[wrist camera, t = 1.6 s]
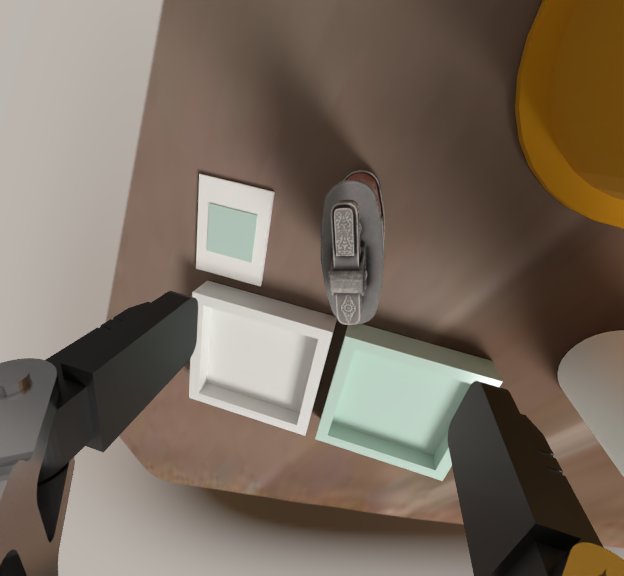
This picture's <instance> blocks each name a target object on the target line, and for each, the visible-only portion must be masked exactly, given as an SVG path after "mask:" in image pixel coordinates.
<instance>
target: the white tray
mask: <svg viewBox="0 0 624 576" xmlns="http://www.w3.org/2000/svg"><path fill="white" fill-rule="evenodd" d="M192 297H194V298H196V299H197V301H198V323H197V342H196V347H195V350H194V352H193V354H192V356H191V358H190V386H189V398H192V399H195V400H198V401H201V402H204V403H207V404H210V405H213V406H216V407H219V408H222V409H225V410H228V411H231V412H234V413H237V414H240V415H243V416H247V417H250V418H253V419H256V420H259V421H262V422H265V423H268V424H271V425H274V426H277V427H280V428H283V429H286V430H289V431H292V432H295V433H298V434H301V435H304V436H305V434H306V431H307V427H308V424H309V420H310V417H311V413H312V409H313V406H314V402H315V398H316V395H317V391H318V387H319V384H320V380H321V376H322V373H323V369H324V365H325V361H326V358H327V354H328V350H329V347H330V343H331V339H332V336H333V332H334V328H335V325H336V321H337V317H335V316H332V315H328V314H325V313H321V312H318V311H314V310H310V309H307V308H303V307H300V306H296V305H293V304H289V303H286V302H282V301H279V300H275V299H272V298H268V297H265V296H261V295H258V294H254V293H250V292H247V291H243V290H240V289H236V288H233V287H229V286H226V285H222V284H219V283H215V282H212V281H208V280H207V281H206V282H205V283H204V284H202V285H201V286H200V287H198V288H197V289H196V290H194V291H193V292H192Z"/></svg>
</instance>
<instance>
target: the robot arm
mask: <svg viewBox="0 0 624 576" xmlns="http://www.w3.org/2000/svg"><path fill="white" fill-rule="evenodd" d="M197 323H198V301H197V299H196V298H194V297H190V296H187V295H183V294H180V293H177V292H173V291H169V292H167V293H165V294H164V295H162V296H161V297H159V298H158V299H156V300H155V301H153V302H152V303H150V302H146V303H143V304H140V305H137V306H134V307H131V308H128V309H127V310H125V311H123V312H122V313H120V314H119V315H117V316H115V317H114V318H113V320H111V319H110V320H109V321H107V322H106V323H104V324H102V325H101V327H100V328H96V329H95V330H93V331H91V332H90V333H88V334H87V335H85V336H84V337H82V338H80V339H78V340H77V341H75V342H74V343H72V344H70V345H69V346H67V347H66V348H64V349H62V350H61V351H59V352H58V353H56V354H54V355H53V356H51V357H50V358H48V359H46V360H41V359H31V358H29V359H17V360H12V361H7V362H3V363H0V576H58V554H59V546H60V541H61V535H62V530H63V524H64V519H65V514H66V508H67V503H68V497H69V492H70V486H71V480H72V476H73V470H74V463H75V460H74V456H75V455H76V454H77V453H78V452H79V451H80V450H81V449H82V448H83V447H84V446H88V447H90V448H93V449H96V450H99V451H102V452H104V451H105V450H106V449H107V448H108V447H109V446H110V445H111V443H112V442H113V441H114V440H115V439H116V438H117V437H118V436H119V435H120V434H121V433H122V432H123V431H124V430H125V429H126V427H127V426H128V425H129V424H130V423H131V422H132V421H133V420H134V419H135V418H136V417H137V416H138V415H139V413H140V412H141V411H142V410H143V409H144V408H145V407H146V406H147V405H148V404H149V403H150V402H151V401H152V400H153V398H154V397H155V396H156V395H157V394H158V393H159V392H160V391H161V390H162V389H163V388H164V387H165V386H166V385H167V383H168V382H169V381H170V380H171V379H172V378H173V377H174V376H175V375H176V374H177V373H178V372H179V371H180V370H181V368H182V367H183V366H184V365H185V364H186V363H187V362H188V361H189V359H190V358H191V356H192V354H193V352H194V350H195V347H196V342H197ZM448 447H449V452H450V457H451V462H452V467H453V472H454V477H455V482H456V487H457V492H458V497H459V502H460V507H461V512H462V517H463V522H464V527H465V532H466V537H467V542H468V547H469V552H470V557H471V563H472V568H473V573H474V576H624V560H623V559H622V558H620V557H619V556H617V555H616V554H614V553H612V552H611V551H609V550H607V549H605V548H604V547H603V546H602V544H601V542H600V540H599V538H598V536H597V534H596V533H595V531H594V529H593V527H592V525H591V523H590V521H589V519H588V518H587V516H586V514H585V512H584V510H583V508H582V506H581V505H580V503H579V501H578V499H577V497H576V495H575V493H574V492H573V490H572V488H571V486H570V484H569V482H568V480H567V478H566V477H565V476H563V475H562V473H563V471H562V469H561V467H560V465H559V464H558V462H557V460H556V458H553V455H554V454H553V452H552V450H551V449H550V447H549V445H548V443H547V441H546V439H545V437H544V436H543V434H542V433H541V432H540V431H539V430H538V429H537V427H536V426H535V425H534V424H533V423H532V422H531V421H530V420H529V419H528V418H527V416H526V415H522V414H520V412H519V410H518V408H517V406H516V404H515V402H514V400H513V398H512V396H511V394H510V392H509V391H508V390H506V389H503V388H500V387H496V386H493V385H489V384H486V383H483V382H479V381H475V382H473V383H472V384H471V385H470V387H469V389H468V391H467V392H466V394H465V396H464V398H463V400H462V402H461V404H460V405H459V407H458V409H457V411H456V413H455V415H454V416H453V418H452V420H451V423H450V426H449V430H448Z"/></svg>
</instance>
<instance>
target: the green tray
mask: <svg viewBox="0 0 624 576" xmlns="http://www.w3.org/2000/svg"><path fill="white" fill-rule="evenodd" d="M475 381H479V382H483V383H486V384H489V385H493V386H496V387H500V385H501V384H502V382H503V381H502V379H501V377H500V375H499V373H498V371H497V369H496V367H495V365H494V362H493V361H490V360H487V359H483V358H480V357H476V356H473V355H469V354H466V353H462V352H459V351H455V350H452V349H448V348H445V347H441V346H438V345H434V344H430V343H427V342H423V341H420V340H416V339H413V338H409V337H406V336H402V335H399V334H395V333H392V332H388V331H385V330H381V329H378V328H374V327H370V326H367V325H363V324H355V325H347V329H346V332H345V335H344V339H343V342H342V346H341V349H340V353H339V356H338V359H337V363H336V366H335V370H334V373H333V377H332V380H331V384H330V387H329V390H328V394H327V397H326V401H325V404H324V408H323V411H322V414H321V418H320V422H319V426H318V430H317V434H316V438H315V439H317V440H320V441H323V442H326V443H329V444H332V445H335V446H338V447H341V448H344V449H347V450H350V451H353V452H356V453H359V454H362V455H365V456H368V457H371V458H374V459H377V460H380V461H383V462H386V463H390V464H393V465H396V466H399V467H402V468H405V469H408V470H411V471H414V472H417V473H420V474H423V475H426V476H429V477H432V478H435V479H438V480H441V481H443V479H444V478H445V476H446V474H447V473H448V471H449V469H450V468H451V466H452V462H451V457H450V452H449V447H448V430H449V426H450V423H451V420H452V418H453V416H454V415H455V413H456V411H457V409H458V407H459V405H460V404H461V402H462V400H463V398H464V396H465V394H466V392H467V391H468V389H469V387H470V385H471V384H472V383H473V382H475Z"/></svg>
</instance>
